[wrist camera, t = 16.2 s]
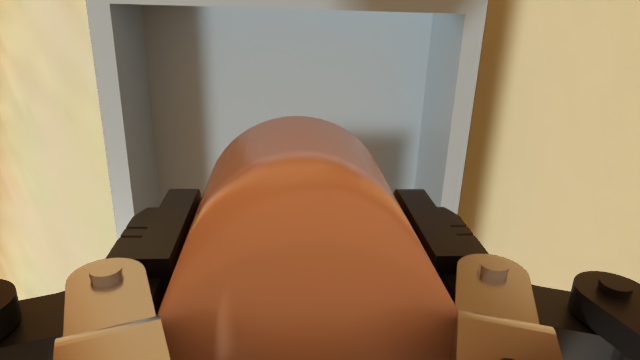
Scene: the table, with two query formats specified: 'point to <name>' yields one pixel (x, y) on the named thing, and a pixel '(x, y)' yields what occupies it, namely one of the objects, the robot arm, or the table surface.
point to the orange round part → (303, 258)
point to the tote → (282, 85)
